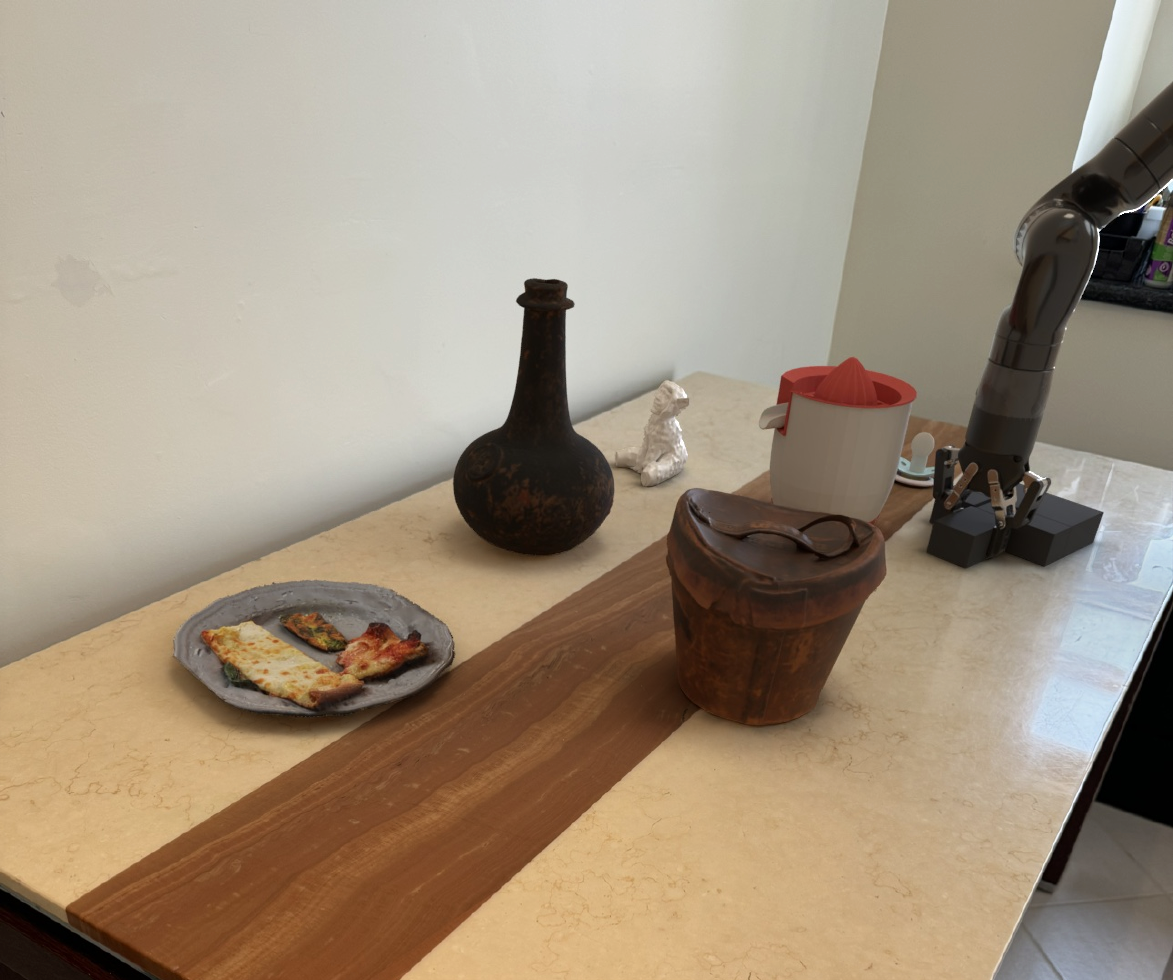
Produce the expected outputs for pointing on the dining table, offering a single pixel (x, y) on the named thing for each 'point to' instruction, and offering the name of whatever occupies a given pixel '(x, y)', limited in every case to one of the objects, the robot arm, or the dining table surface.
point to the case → (764, 601)
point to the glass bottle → (536, 449)
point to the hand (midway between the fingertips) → (970, 546)
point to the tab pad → (963, 535)
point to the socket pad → (1043, 527)
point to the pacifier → (917, 462)
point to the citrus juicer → (837, 438)
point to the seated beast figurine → (659, 439)
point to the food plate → (314, 648)
